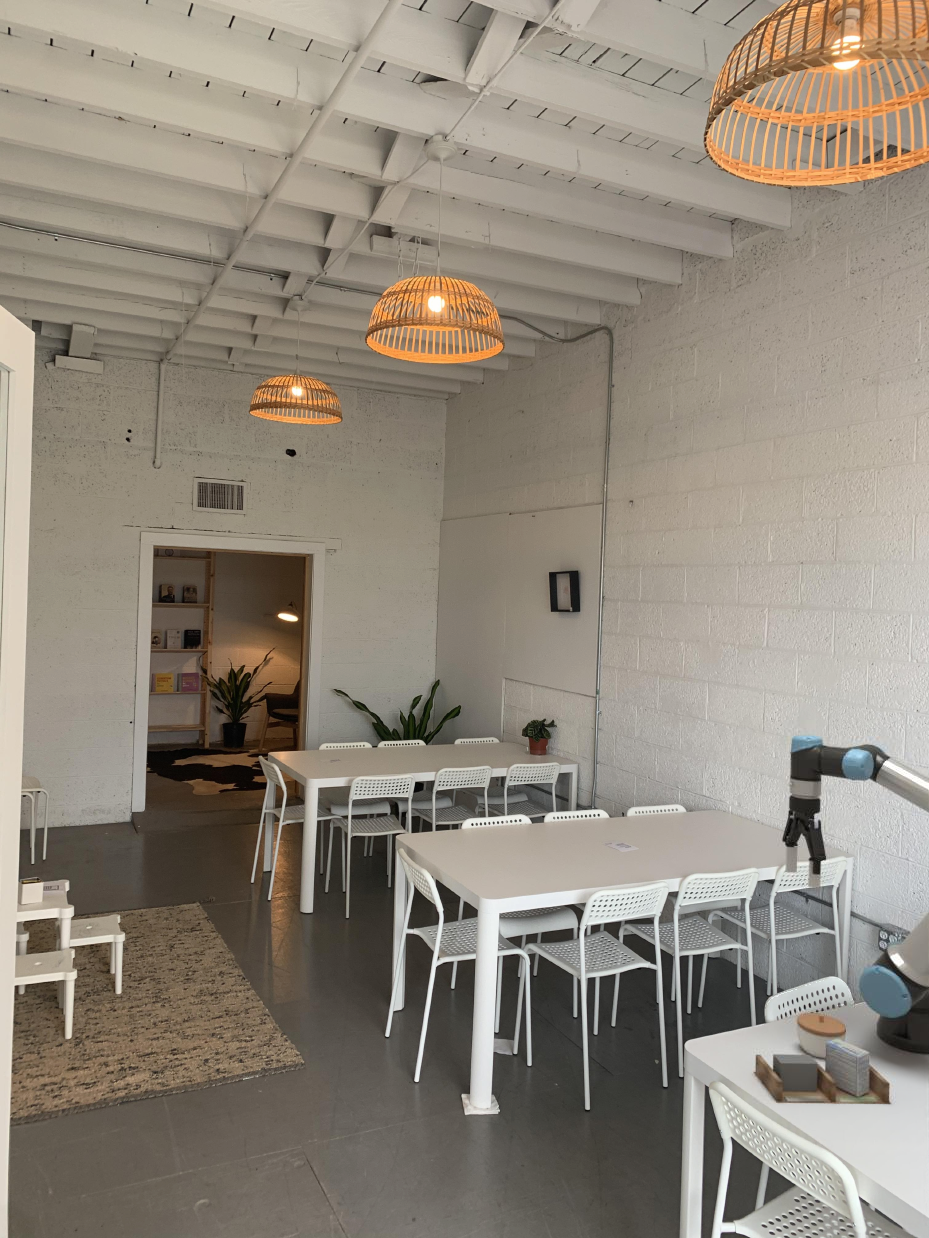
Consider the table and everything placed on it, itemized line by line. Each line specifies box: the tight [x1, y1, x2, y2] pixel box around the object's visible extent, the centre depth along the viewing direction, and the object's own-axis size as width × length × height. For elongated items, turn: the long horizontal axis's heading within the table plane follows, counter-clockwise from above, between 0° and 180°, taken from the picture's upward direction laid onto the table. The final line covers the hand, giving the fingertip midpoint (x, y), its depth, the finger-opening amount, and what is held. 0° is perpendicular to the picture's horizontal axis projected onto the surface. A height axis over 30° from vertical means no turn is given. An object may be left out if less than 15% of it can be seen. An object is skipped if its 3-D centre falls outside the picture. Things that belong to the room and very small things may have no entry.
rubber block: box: [772, 1053, 818, 1092], centre depth 191 cm, size 8×4×6 cm, turn 93°
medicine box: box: [824, 1039, 870, 1097], centre depth 191 cm, size 8×4×9 cm, turn 33°
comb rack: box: [753, 1054, 892, 1105], centre depth 191 cm, size 13×24×5 cm, turn 93°
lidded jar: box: [796, 1012, 847, 1059], centre depth 209 cm, size 11×11×9 cm
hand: (802, 879), depth 226 cm, fingers open, 13 cm apart
